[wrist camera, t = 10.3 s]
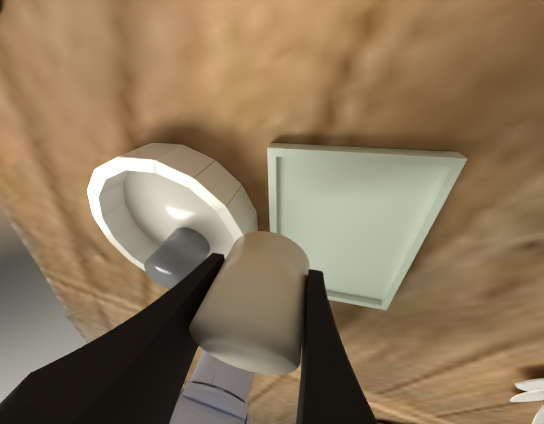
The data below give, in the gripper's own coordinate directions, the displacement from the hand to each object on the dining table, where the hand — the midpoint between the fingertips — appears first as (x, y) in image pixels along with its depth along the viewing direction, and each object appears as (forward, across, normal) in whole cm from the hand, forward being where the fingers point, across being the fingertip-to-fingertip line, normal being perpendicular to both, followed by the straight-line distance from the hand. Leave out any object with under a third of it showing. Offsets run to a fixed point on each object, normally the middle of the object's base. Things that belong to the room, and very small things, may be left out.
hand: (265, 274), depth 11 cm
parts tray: (+8, -4, +4) cm, 10 cm away
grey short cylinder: (+8, +10, +7) cm, 15 cm away
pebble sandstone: (+1, 0, 0) cm, 1 cm away
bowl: (+8, +10, +4) cm, 14 cm away
